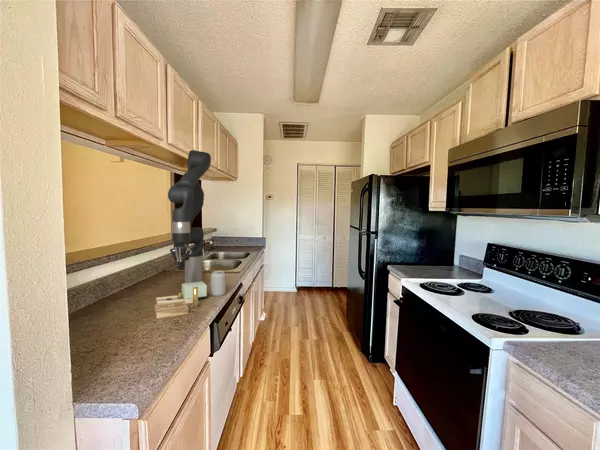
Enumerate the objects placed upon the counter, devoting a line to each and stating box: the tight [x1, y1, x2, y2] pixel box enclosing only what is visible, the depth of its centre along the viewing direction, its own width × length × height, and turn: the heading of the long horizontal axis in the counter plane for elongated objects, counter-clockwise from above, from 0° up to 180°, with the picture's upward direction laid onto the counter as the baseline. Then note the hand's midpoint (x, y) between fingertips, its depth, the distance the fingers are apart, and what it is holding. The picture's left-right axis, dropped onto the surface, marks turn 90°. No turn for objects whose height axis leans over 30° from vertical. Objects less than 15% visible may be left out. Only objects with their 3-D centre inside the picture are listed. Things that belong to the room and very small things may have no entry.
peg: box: [192, 287, 199, 309], centre depth 125 cm, size 2×2×9 cm
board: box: [155, 291, 193, 305], centre depth 132 cm, size 10×15×4 cm, turn 122°
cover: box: [181, 280, 208, 299], centre depth 137 cm, size 8×10×5 cm
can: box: [210, 270, 227, 297], centre depth 145 cm, size 8×8×12 cm
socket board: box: [154, 301, 189, 320], centre depth 120 cm, size 10×12×2 cm
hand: (181, 269), depth 126 cm, fingers closed
